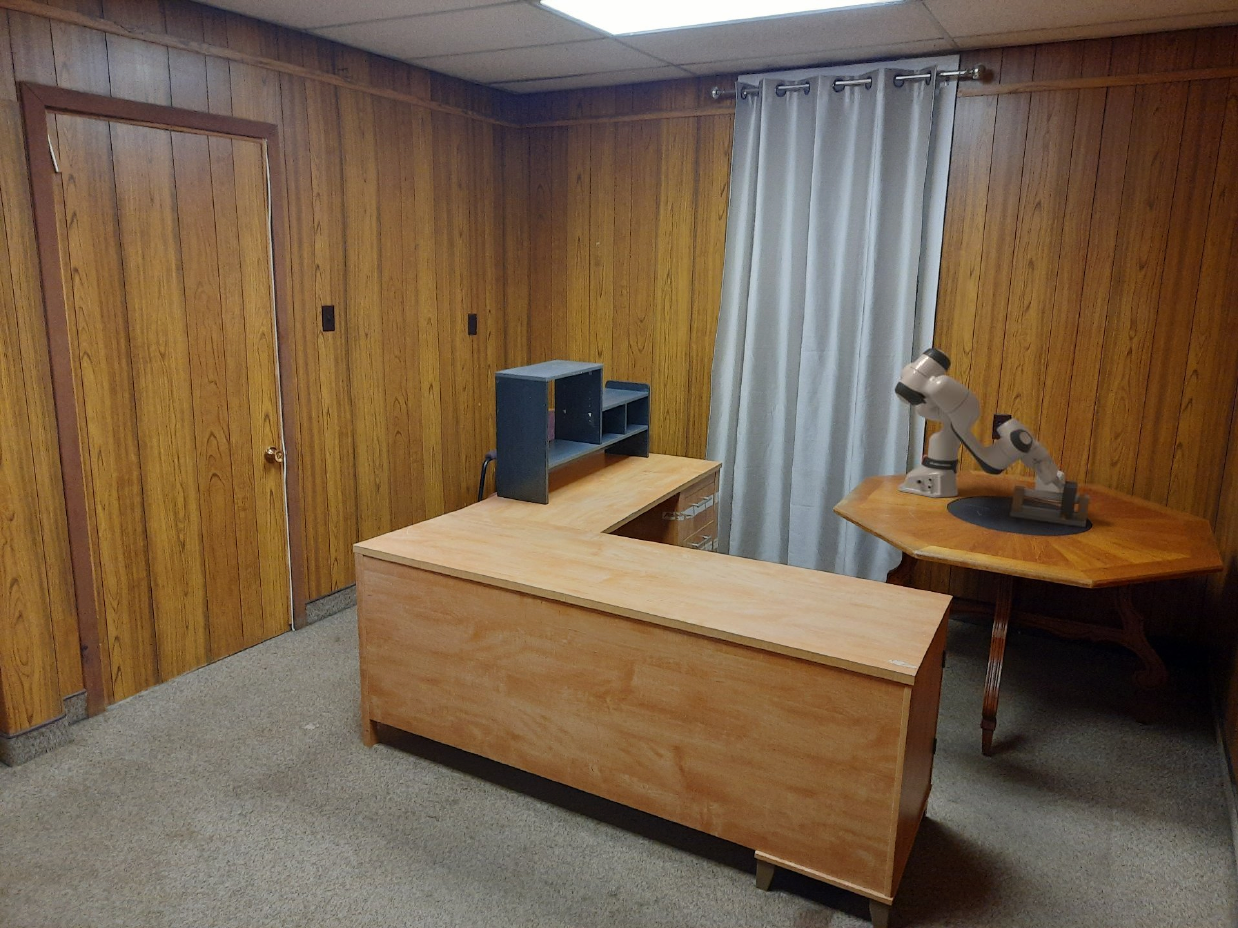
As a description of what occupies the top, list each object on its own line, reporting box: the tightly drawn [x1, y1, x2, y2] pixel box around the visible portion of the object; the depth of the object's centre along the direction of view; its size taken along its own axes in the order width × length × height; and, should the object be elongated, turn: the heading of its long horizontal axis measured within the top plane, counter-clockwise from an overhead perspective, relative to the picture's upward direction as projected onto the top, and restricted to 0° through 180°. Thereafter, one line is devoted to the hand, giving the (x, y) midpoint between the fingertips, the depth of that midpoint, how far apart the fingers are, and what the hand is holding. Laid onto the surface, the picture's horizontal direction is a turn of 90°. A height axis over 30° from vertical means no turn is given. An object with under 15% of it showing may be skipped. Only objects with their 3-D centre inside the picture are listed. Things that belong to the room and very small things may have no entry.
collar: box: [1059, 480, 1079, 516], centre depth 304 cm, size 4×10×10 cm, turn 150°
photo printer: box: [1034, 469, 1066, 504], centre depth 330 cm, size 10×4×12 cm, turn 39°
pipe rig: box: [1009, 485, 1091, 528], centre depth 307 cm, size 24×12×10 cm, turn 60°
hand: (1061, 487), depth 304 cm, fingers closed, pressing on collar
